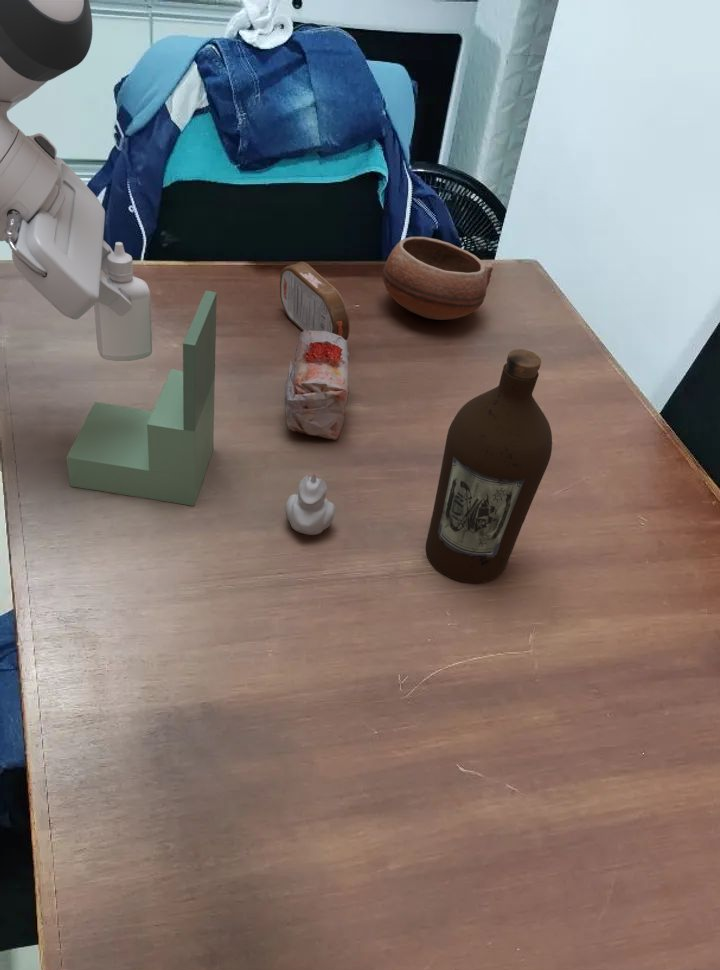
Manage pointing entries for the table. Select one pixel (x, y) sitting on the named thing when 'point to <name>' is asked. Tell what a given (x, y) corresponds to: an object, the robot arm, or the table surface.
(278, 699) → the table surface
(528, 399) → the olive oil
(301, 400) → the food item
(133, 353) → the eye dropper bottle
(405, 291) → the bowl
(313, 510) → the rubber duck
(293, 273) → the tin
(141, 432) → the step shelf
